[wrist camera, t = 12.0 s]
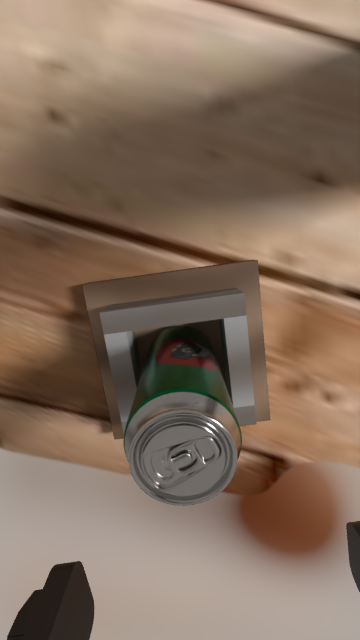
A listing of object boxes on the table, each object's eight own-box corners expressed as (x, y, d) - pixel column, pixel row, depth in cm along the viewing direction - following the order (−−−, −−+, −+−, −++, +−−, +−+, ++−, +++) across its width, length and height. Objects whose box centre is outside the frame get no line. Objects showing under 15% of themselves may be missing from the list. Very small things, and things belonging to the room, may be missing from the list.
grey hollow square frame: (88, 282, 24) (67, 289, 19) (252, 259, 23) (269, 261, 19) (118, 429, 27) (106, 464, 22) (265, 410, 26) (282, 442, 22)
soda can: (136, 342, 23) (93, 438, 12) (194, 312, 23) (211, 379, 11) (168, 395, 24) (158, 532, 13) (224, 367, 24) (268, 483, 12)
